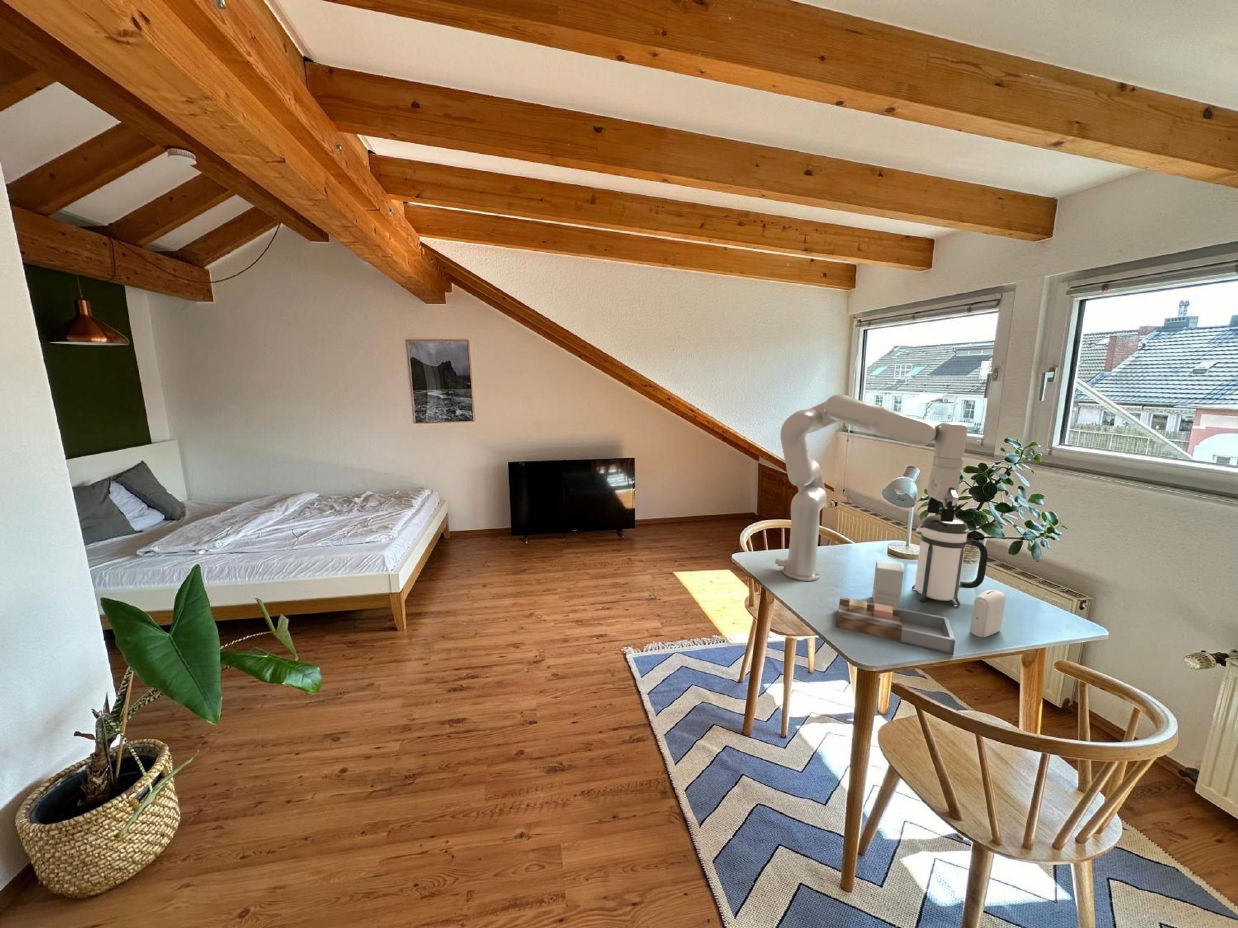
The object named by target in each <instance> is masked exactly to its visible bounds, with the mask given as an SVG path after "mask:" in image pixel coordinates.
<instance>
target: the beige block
mask: <svg viewBox="0 0 1238 928" xmlns="http://www.w3.org/2000/svg"><path fill="white" fill-rule="evenodd" d="M849 599H850V604H849V612H853V613H858V614H863V615H866V611H867V602H868V601H867V600H866V601H865V600H860V599H855V598H849Z"/></svg>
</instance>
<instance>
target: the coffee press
mask: <svg viewBox="0 0 1238 928" xmlns="http://www.w3.org/2000/svg"><path fill="white" fill-rule="evenodd" d="M940 519H941V515H940V514H934V515H929V516H926V517H925V518H924V520H923V521H921V523H920V525H919V526H918V527H917V528H916V530H915V531H916V532H919V533H920V537H919V538H920V542H919V543H920V544H919V551H918V557H917V566H916V575H915V580H914V581H915V584H914V585H912V586H911V589H912V591H917V592H918V593H919V594H920V596H919V599H918V600H919V601H920V602H922V603H926V601H927V600H928V599H933V600H936V601H937V600H938V601H944V602H946V601H949V602H950V603H951V604H952V606H953V607H955V608H957V607H960V606H961V602H960V600H959V598H958V596H959V591H960V589H975V588H978V587H979V586H980V585H981V584H983V582H984V579H985V576H986V572H987V564H988V556H989V555H988V549H987V547H986V546H985V545H984V544H983V543H982V542H981V541H979V540H976V539H968V538H967V537H968V534H969V532H970V528H968V524H967V523H966V522H965V521H964V520H962V519H959V518H957V517H954V518H953V522H943V521H941V520H940ZM967 545H969V546H974V547H977V548H978V550H979V553H980V554H979V561H978V565H977V566H978V568H977V575H976V578H975V579H974V580H973V581H970V582H965V581H961V577H962V572H963V563H964V557H965V551H966V547H967Z"/></svg>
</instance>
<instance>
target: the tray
mask: <svg viewBox="0 0 1238 928" xmlns="http://www.w3.org/2000/svg"><path fill="white" fill-rule="evenodd" d="M899 609H900V622H901V623H902V629H901V639H900V641H899V642H900V644H905V645H908V646H912V647H918V648H923V649H926V650H931V651H936V652H941V653H945V654H949V655H953V656H954V651H955V646H956V638H955V636H954V633H953V630H952V627H951V622H950V621H949V618H948V617H945V616H940V615H935V614H930V613H926V612H920V611H916V610H915V611H914V610H910V609H905V608H900V607H899Z"/></svg>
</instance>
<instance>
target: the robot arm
mask: <svg viewBox="0 0 1238 928" xmlns="http://www.w3.org/2000/svg"><path fill="white" fill-rule="evenodd" d="M837 422H838V423H839V422H840V423H843V424H847V425H851V426H853V427H857V428H859V429H863V430H867V431H870V432H872V433H873V434H878V435H881V436H884V437H888V438H891V439H893V440H897V441H900V442H903V443H907V444H910V445H913V446H916V447H923V446H927V445H929V444H934V451H933V457H932V468H931V470H930V475H929V479H928V484H927V490H926V494H927V495H928V500H927V501H928V502H927V509H926V511H927V513H928V514H936V515H939V513H940V506H941V501H942V506H943V507H942V508H941V519H940V520H941V521H943V522H953V518H955V517H954V516H955V512H956V511H955V510H956V508H957V505H958V502H959V488H960V477H961V476H960V475H961V474H960V471H961V470H962V469H963V463H964V462H963V461H964V456H965V450H966V448H965V447H966V442H967V436H968V430H969V429H968V426H967V424H966V423H962V422H956V421H955V422H953V421H943V422H941V421H934V420H930V419H916V418H913V417H910V416H906V415H902V414H899V413H895V412H893V411H891V410H889V409H887V408H885V407H884V406H881V405H878V404H875V403H872V402H871V403H870V402H867V401H864V400H860V399H856V398H853V397H851V396H849V395H847V394H833V395H832V396H829V397H828V398H827V400H826V401H824V402H821V403H820V404H816V405H815V406H813V407H810V408H807V409H800V410H797V411H795V412H794V413H792V414H791V415H790V416H788V417H787V418H786V419H785V420H784V422H783V424H782V427H781V429H780V435H779V436H780V443H781V447H782V453H783V457H784V458H783V459H784V462H785V466H786V467H785V468H786V473H787V477H788V481H789V482H790V483H791V484H792V485H793V486H794V487H795V486H796V487H797V489H798V490H797V491H798V492H797V493H795V495H793V498H792V499H791V503H790V518H791V519H790V530H789V531H790V533H789V535H790V536H789V547H788V557H787V559H780V558H775V563H774V564H776V565H777V566H778V567H783V568H782V573H783V575H784V576H787V577H788V578H791V579H792V580H793V579H794V580H798V581H806V582H807V581H808V582H812V581H816V580H819V578H820V572H819V571H818V570H817V569H816V567H817V565H816V563H817V556H818V555H817V554H818V544H819V534H820V533H819V532H820V513H821V512H820V511H821V510H822V509H823V508H824V507H825V506H826V504H827V499H828V498H827V490H826V488H825V487H826V486H825V483H824V481H825V480H824V477H823V474H822V473H823V472H822V469H821V466H820V464H819V463H818V461H816V460H815V459H814V458H811V455H810V451H809V446H808V443H807V441H806V436H807V435H808V434H812V433H815V432H816V431H817V432H818V431H820V430H821V429H824V428H827V427H829V426H832V425H834V424H836V423H837Z"/></svg>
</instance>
